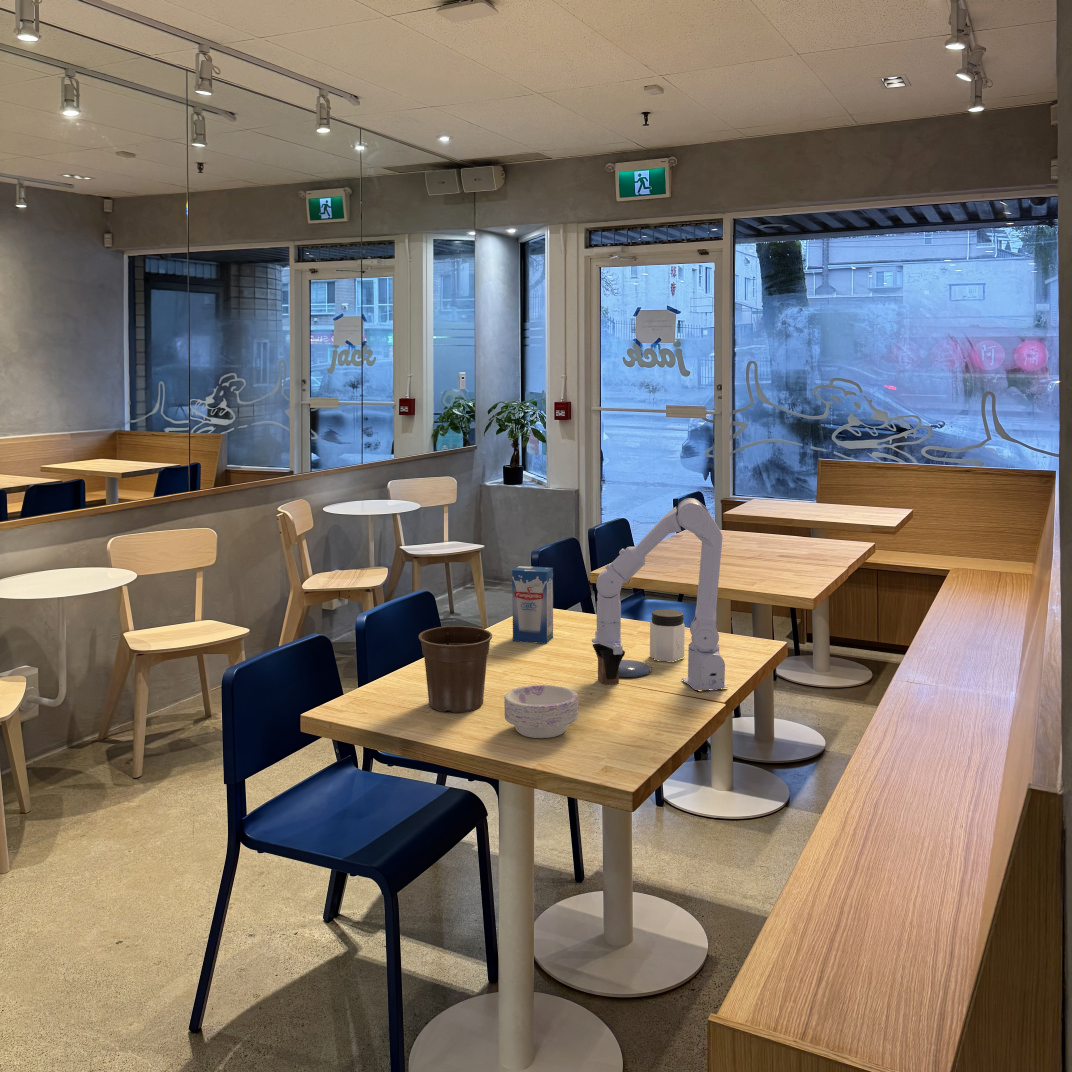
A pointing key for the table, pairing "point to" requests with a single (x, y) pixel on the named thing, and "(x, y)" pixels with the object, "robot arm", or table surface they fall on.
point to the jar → (667, 635)
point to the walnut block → (602, 673)
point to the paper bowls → (541, 710)
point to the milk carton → (532, 604)
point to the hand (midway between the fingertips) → (608, 675)
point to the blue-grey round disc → (633, 668)
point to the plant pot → (455, 666)
